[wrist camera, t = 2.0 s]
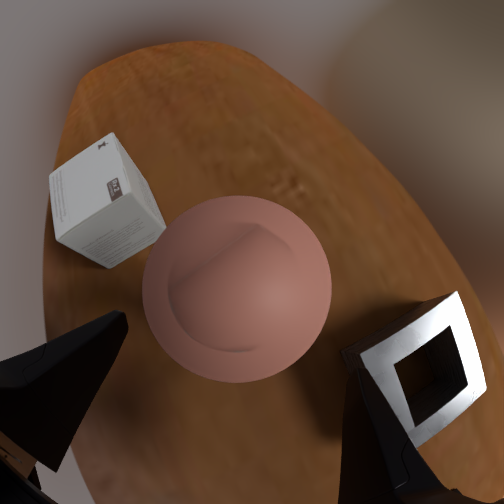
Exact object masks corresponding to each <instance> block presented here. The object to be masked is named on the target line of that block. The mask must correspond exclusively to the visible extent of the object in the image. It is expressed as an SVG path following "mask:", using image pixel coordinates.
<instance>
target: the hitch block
mask: <svg viewBox="0 0 504 504" xmlns="http://www.w3.org/2000/svg"><path fill="white" fill-rule="evenodd" d="M422 345H423V346H424V348H425V351H426V354H427V357H428V360H429V363H430V366H431V369H432V372H433V375H434V378H435V380H434V381H433V382H432V383H430V384H429V385H428V386H426V387H425V388H424V389H422V390H421V391H419V392H418V393H417V394H415V395H414V396H412V397H411V398H409V399H408V400H406V398H405V396H404V393H403V390H402V387H401V384H400V381H399V379H398V376H397V373H396V370H395V368H394V365H393V364H395V363H397V362H398V361H400V360H401V359H403V358H404V357H406V356H407V355H409V354H410V353H412V352H413V351H415V350H416V349H418V348H419V347H421V346H422ZM340 353H341V356H342V358H343V360H344V363H345V365H346V367H347V370H348V372H349V375H350V376H351V374H352V373H353V371H354V369H355V368H356V367H364V368H367V369H368V370H369V372H370V374H371V375H372V377H373V378H374V380H375V382H376V383H377V385H378V386H379V388H380V390H381V391H382V393H383V394H384V396H385V398H386V399H387V401H388V402H389V404H390V406H391V407H392V409H393V411H394V412H395V414H396V416H397V417H398V419H399V421H400V422H401V424H402V425H403V427H404V429H405V431H406V432H407V434H408V436H409V437H410V439H411V441H412V442H413V444H414V446H415V447H416V448H417V447H419V446H420V445H421V444H423V443H424V442H426V441H427V440H428V439H430V438H431V437H432V436H434V435H435V434H436V433H438V432H439V431H440V430H442V429H443V428H444V427H445V426H447V425H448V424H449V423H450V422H452V421H453V420H454V419H455V418H456V417H457V416H459V415H460V414H461V413H462V412H463V411H464V410H465V409H467V408H468V407H469V406H470V405H471V404H472V403H473V402H474V401H475V400H476V399H477V398H478V397H479V396H480V395H481V394H482V393H483V392H484V391H485V390H486V384H485V379H484V375H483V371H482V366H481V362H480V359H479V355H478V351H477V348H476V344H475V341H474V338H473V334H472V331H471V328H470V325H469V322H468V319H467V317H466V314H465V311H464V308H463V306H462V303H461V300H460V298H459V295H458V293H457V291H455V292H452V293H449V294H446V295H443V296H440V297H437V298H434V299H431V300H427V301H424V302H423V303H421V304H420V305H418V306H417V307H415V308H413V309H412V310H410V311H409V312H407V313H406V314H404V315H402V316H401V317H399V318H398V319H396V320H394V321H393V322H391V323H389V324H388V325H386V326H384V327H383V328H381V329H379V330H377V331H376V332H374V333H372V334H370V335H368V336H367V337H365V338H363V339H361V340H359V341H357V342H356V343H354V344H352V345H350V346H348V347H346V348H344V349H342V350H340Z"/></svg>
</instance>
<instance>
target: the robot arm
mask: <svg viewBox="0 0 504 504" xmlns="http://www.w3.org/2000/svg"><path fill="white" fill-rule="evenodd" d="M127 333H128V323H127V319H126V314H125V313H124V312H122V311H119V310H114V311H112V312H109V313H107V314H105V315H103V316H101V317H99V318H97V319H95V320H93V321H91V322H89V323H86V324H84V325H82V326H80V327H78V328H76V329H74V330H72V331H70V332H68V333H66V334H64V335H62V336H59V337H57V338H55V339H53V340H51V341H49V342H47V343H45V344H43V345H41V346H39V347H37V348H34V349H33V350H30V351H27V352H25V353H22V354H20V355H17V356H14V357H12V358H9V359H6V360H3V361H1V362H0V504H58V503H56V502H55V501H54V500H52V499H51V498H50V497H48V496H47V495H46V494H44V493H43V492H42V491H41V486H40V482H39V479H38V475H37V471H36V467H35V464H36V462H37V460H38V461H39V462H40V463H42V464H44V465H45V466H47V467H48V468H49V469H51V470H52V471H54V472H57V471H58V469H59V466H60V464H61V462H62V460H63V458H64V456H65V454H66V452H67V449H68V448H69V446H70V444H71V441H72V439H73V436H74V435H75V433H76V431H77V429H78V427H79V425H80V423H81V421H82V419H83V418H84V416H85V414H86V412H87V410H88V408H89V406H90V404H91V402H92V401H93V399H94V397H95V395H96V393H97V391H98V390H99V388H100V386H101V384H102V383H103V381H104V379H105V377H106V375H107V374H108V372H109V370H110V368H111V367H112V365H113V363H114V361H115V359H116V357H117V355H118V352H119V350H120V348H121V346H122V344H123V341H124V339H125V337H126V335H127ZM338 504H504V498H502V499H500V500H498V501H496V502H494V503H485V502H481V501H478V500H475V499H472V498H469V497H466V496H463V495H461V494H458V493H455V492H453V491H451V490H449V489H447V488H446V487H445V486H444V485H443V484H442V483H441V482H440V481H439V480H438V478H437V477H436V476H435V474H434V473H433V472H432V470H431V469H430V467H429V466H428V465H427V463H426V462H425V461H424V459H423V458H422V456H421V455H420V454H419V452H418V450H417V449H416V447H415V446H414V444H413V442H412V441H411V439H410V437H409V436H408V434H407V432H406V431H405V429H404V427H403V425H402V424H401V422H400V421H399V419H398V417H397V416H396V414H395V412H394V411H393V409H392V407H391V406H390V404H389V402H388V401H387V399H386V398H385V396H384V394H383V393H382V391H381V390H380V388H379V386H378V385H377V383H376V382H375V380H374V378H373V377H372V375H371V374H370V372H369V370H368V369H367V368H364V367H356V368H355V369H354V371H353V373H352V374H351V376H350V377H349V379H348V382H347V387H346V396H345V405H344V412H343V424H342V455H341V473H340V486H339V497H338Z"/></svg>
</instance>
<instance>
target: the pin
mask: <svg viewBox="0 0 504 504" xmlns="http://www.w3.org/2000/svg"><path fill="white" fill-rule="evenodd" d="M142 298H143V307H144V311H145V315H146V319H147V321H148V324H149V327H150V329H151V331H152V333H153V335H154V336H155V338H156V340H157V341H158V343H159V344H160V345H161V347H162V348H163V349H164V351H165V352H166V353H167V354H168V355H169V356H170V357H171V358H172V359H173V360H175V361H176V362H177V363H178V364H180V365H181V366H182V367H184V368H186V369H187V370H189V371H191V372H193V373H195V374H197V375H199V376H202V377H204V378H208V379H211V380H216V381H221V382H230V383H239V382H250V381H255V380H260V379H263V378H266V377H269V376H272V375H274V374H276V373H278V372H280V371H282V370H284V369H286V368H287V367H289V366H290V365H292V364H293V363H295V362H296V361H297V360H298V359H299V358H300V357H301V356H302V355H304V354H305V353H306V351H307V350H308V349H309V348H310V347H311V345H312V344H313V343H314V341H315V340H316V338H317V337H318V335H319V334H320V332H321V330H322V327H323V325H324V323H325V321H326V318H327V314H328V311H329V307H330V301H331V275H330V268H329V265H328V261H327V258H326V255H325V253H324V250H323V248H322V246H321V244H320V242H319V241H318V239H317V237H316V236H315V235H314V233H313V232H312V231H311V229H310V228H309V227H308V226H307V225H306V224H305V223H304V222H303V221H302V220H301V219H300V218H299V217H297V216H296V215H295V214H293V213H292V212H291V211H289V210H287V209H286V208H284V207H282V206H281V205H278V204H276V203H273V202H271V201H268V200H265V199H261V198H257V197H250V196H226V197H220V198H215V199H211V200H208V201H206V202H203V203H200V204H198V205H196V206H194V207H192V208H190V209H189V210H187V211H185V212H184V213H182V214H181V215H180V216H178V217H177V218H176V219H175V220H174V221H172V222H171V223H170V225H169V226H168V227H167V228H166V229H165V230H164V231H163V232H162V234H161V235H160V236H159V238H158V239H157V241H156V243H155V244H154V246H153V248H152V250H151V252H150V254H149V257H148V259H147V262H146V266H145V270H144V275H143V282H142Z"/></svg>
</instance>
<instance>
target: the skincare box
mask: <svg viewBox="0 0 504 504" xmlns="http://www.w3.org/2000/svg"><path fill="white" fill-rule="evenodd" d="M49 185H50V197H51V207H52V216H53V223H54V230H55V237H56V240H57V241H58V242H60V243H62V244H64V245H65V246H67V247H69V248H71V249H72V250H74V251H76V252H78V253H80V254H81V255H83V256H85V257H87V258H89V259H91V260H93V261H95V262H96V263H98V264H100V265H102V266H104V267H106V268H108V269H110V268H112V267H114V266H116V265H117V264H119V263H121V262H122V261H124V260H126V259H127V258H129V257H131V256H132V255H134V254H136V253H137V252H139V251H141V250H142V249H144V248H146V247H148V246H149V245H151V244H153V243H155V242H156V241H157V239H158V238H159V236H160V235H161V234H162V232H163V231H164V230H165V229H166V225H165V223H164V220H163V218H162V216H161V213H160V211H159V209H158V206H157V204H156V202H155V199H154V197H153V195H152V192H151V190H150V188H149V186H148V183H147V181H146V180H145V179H144V177H143V176H142V174H141V173H140V171H139V170H138V168H137V167H136V165H135V164H134V163H133V161H132V160H131V158H130V157H129V155H128V154H127V152H126V151H125V149H124V148H123V147H122V145H121V144H120V142H119V141H118V139H117V138H116V136H115V135H114V133H110V134H108V135H107V136H105V137H104V138H102V139H100V140H99V141H97V142H96V143H94V144H93V145H91V146H90V147H88V148H87V149H85V150H84V151H82V152H81V153H79V154H78V155H76V156H75V157H73V158H72V159H70V160H69V161H68V162H66V163H65V164H63V165H62V166H61V167H59V168H58V169H56V170H55V171H54V172H53V173H52V174H51V175H50V176H49Z"/></svg>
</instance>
